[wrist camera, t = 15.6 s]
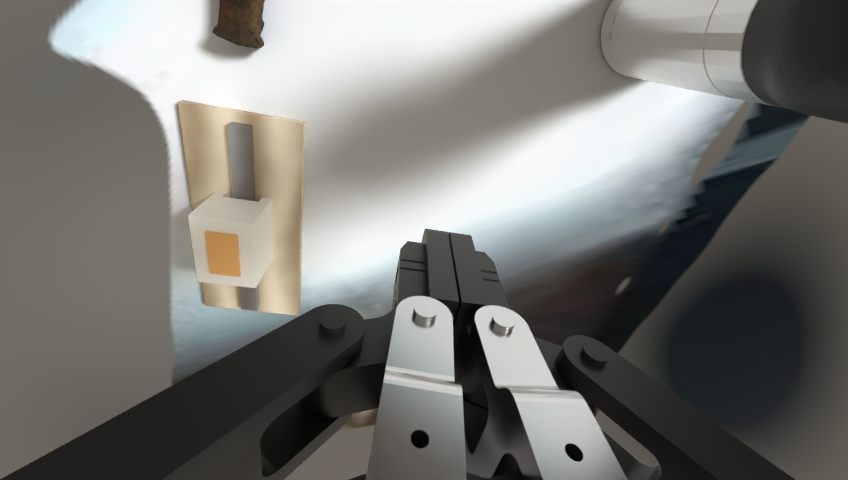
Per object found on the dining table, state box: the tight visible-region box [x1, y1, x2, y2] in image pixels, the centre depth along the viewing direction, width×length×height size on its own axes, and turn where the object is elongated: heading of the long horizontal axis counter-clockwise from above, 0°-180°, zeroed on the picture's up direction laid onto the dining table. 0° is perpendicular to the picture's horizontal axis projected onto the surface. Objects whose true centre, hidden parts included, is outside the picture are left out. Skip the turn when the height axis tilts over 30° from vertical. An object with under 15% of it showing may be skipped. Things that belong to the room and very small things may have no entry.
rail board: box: [178, 100, 305, 315], centre depth 43 cm, size 12×26×2 cm, turn 169°
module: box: [188, 191, 273, 288], centre depth 40 cm, size 6×8×6 cm
